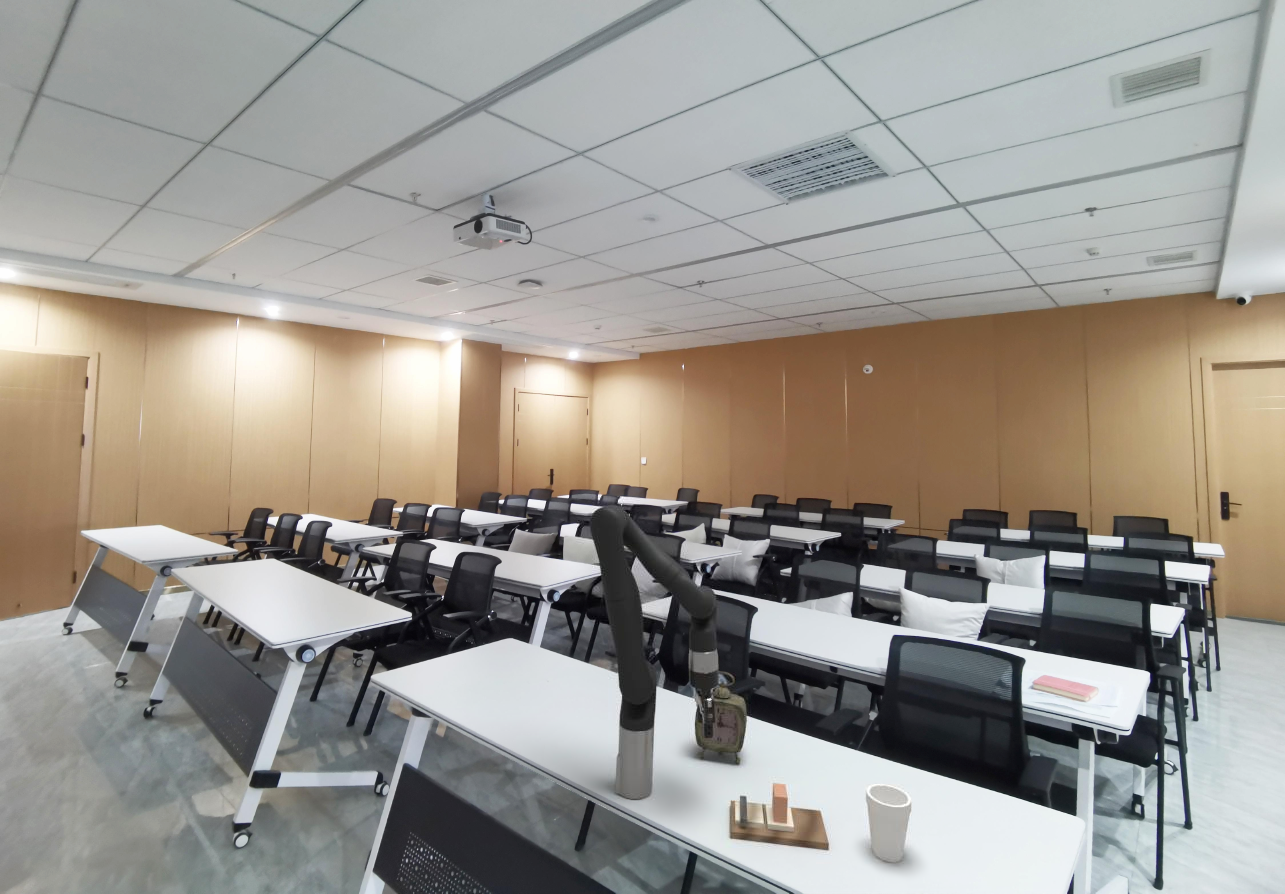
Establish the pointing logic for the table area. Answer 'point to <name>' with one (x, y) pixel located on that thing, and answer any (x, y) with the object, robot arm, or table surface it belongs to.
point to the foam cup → (888, 820)
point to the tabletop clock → (724, 723)
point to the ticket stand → (753, 826)
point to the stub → (779, 810)
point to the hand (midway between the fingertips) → (705, 729)
